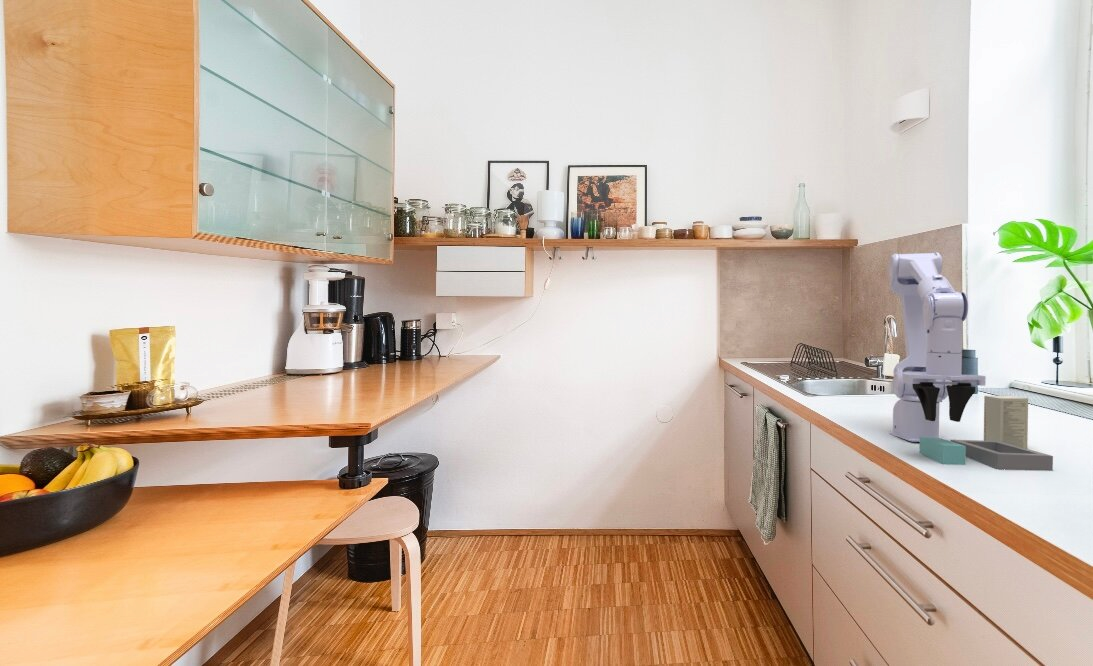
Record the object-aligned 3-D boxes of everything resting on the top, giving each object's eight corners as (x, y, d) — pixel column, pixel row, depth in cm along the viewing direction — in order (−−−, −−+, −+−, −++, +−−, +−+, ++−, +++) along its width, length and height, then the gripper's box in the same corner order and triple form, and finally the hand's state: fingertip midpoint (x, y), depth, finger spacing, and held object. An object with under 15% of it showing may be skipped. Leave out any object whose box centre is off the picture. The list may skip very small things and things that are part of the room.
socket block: (950, 453, 114) (950, 439, 114) (998, 455, 113) (998, 441, 113) (997, 470, 101) (998, 454, 101) (1052, 472, 100) (1052, 455, 100)
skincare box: (1010, 450, 118) (1011, 395, 118) (1028, 455, 113) (1030, 397, 113) (981, 450, 118) (982, 394, 118) (999, 455, 113) (1000, 397, 113)
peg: (919, 456, 112) (919, 437, 112) (940, 457, 112) (940, 437, 112) (943, 465, 104) (943, 445, 104) (965, 466, 104) (965, 446, 104)
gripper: (917, 353, 104) (916, 423, 104) (997, 354, 103) (996, 425, 103) (897, 351, 111) (895, 417, 112) (971, 352, 110) (970, 419, 110)
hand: (942, 420), depth 108 cm, fingers open, 4 cm apart
